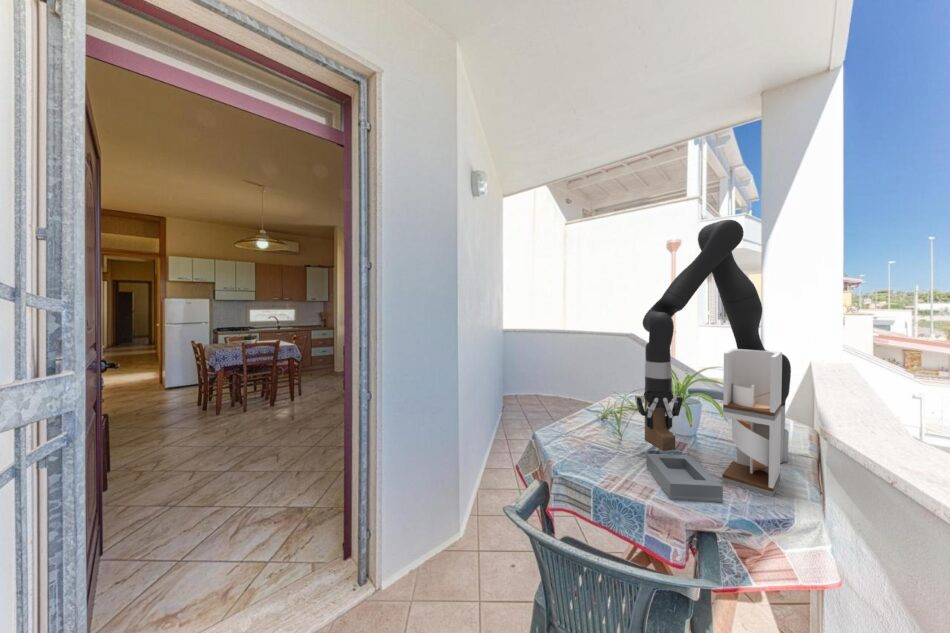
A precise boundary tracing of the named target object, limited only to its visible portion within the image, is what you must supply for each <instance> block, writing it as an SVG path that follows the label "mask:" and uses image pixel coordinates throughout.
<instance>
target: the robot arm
mask: <svg viewBox="0 0 950 633" xmlns="http://www.w3.org/2000/svg"><path fill="white" fill-rule="evenodd" d="M744 232H745V231H744V227H743V226H742V224H741V223H740V222H738V221H736V220H733V219H723V220H718V221H716V222H713V223H709V224H706V225H705V226H703V227H702V228H701V229H700V231H699V232H698V236H697V243H698V246H699V248H700V252H699V254H698V255H697V256H696V258H694V260H692V262H690V264H688V265H687V267H686V268H684V269H683V270H682V271H681V272H680V273H679V274H678V275H677V276H676V277H675V278H674V279H673V280H672V282H671V283H670V284H669V286H668V287H667V289H666V290H665V291H664V293H663V294H662V296H661V298H660V299H658V300H657V301H656V302H655V303H654V304H653V306H651V307H650V309H649V310H648V311H647V312H646V313H645V315H644V317H643V319H642V326H643V329H644V331H647V333H649V334H648V335H649V336H648V343H646V345H645V350H644V351H645V363H644V393H643V394H641V395H635V396H634V400H635V404H636V406H637V411H638V413H639V414H640V415H641V416H642V417H643V416H644V425H645V424H646V426H647V427H648V428H649V429H652V418H651V416H652V413H653V411H654V409H655V408H658V407H661V408H664V409H665V420H666V426H667V429H668V430H671V428H673V418H674V417H678V416H680V411H681V409H682V405H683V400H684V399H683V397H681V396H680V395H674V394H673V392H672V391H673V387H672V386H673V384H672V383H673V382H672V381H673V380H672V378H673V377H672V376H673V373H672V364H671V362H672V361H671V345H672V341H673V336H674V327H675V325H674V320H673V316H674V315H675V314H676V313H678V312H681V311H682V310H683V309H684V308H685V307H686V306H687V304H688V303H689V301H690V300H692V297H693V296H694V295H695V293H696V292H697V291H698V289H699V288H700V287H701V286H702V285H703V283H704V282H705V280H706V279H707V278H708V277H710V275H712V276H713V277H712V278H713V279H714V283H715V286H716V288H717V291H718V294H719V296H720V300H721V303H722V306H723V309H724V312H725V314H726V317H727V319H728V322H729V324H730V327H731V330H732V335H733V337H734V340H735V345H736V349H745V350H759V351H768V350H766V349H765V347H764V345H763V342H762V340H761V337H760V332H759V330H760V324H761V321H762V317H763V316H762V315H763V305H762V301H761V298H760V295H759V293H758V290H757V288H756V286H755V284H754V283H753V281H752V280H751V279H750V278H749V277H748V276H747V275H746V273H744V271H743V270H742V269H741V268H740V267H739V265H738V264H737V262H736V259H735V258H734V255H733V251H734V250H735V249H736V248H737V247H738V246H739V245H740V244H741V242H742V240H743V238H744ZM791 373H792V367H791V362H790V360H789V358H788V356H786V354H783V353H782V390H781V443H780V464H782V463H787V462H789V430H788V429H787V428H786V400H787V398H788V397H789V396H790V395H789V394H790V389H791V388H790V387H791V379H792V378H791V377H792V375H791ZM645 399H646V400H647V402H648V404H647V406H646V411H645V407H644V405H643V403H645ZM672 401H673V405H672V408H671V407H670V403H671V402H672ZM649 404H650V405H651V406H649ZM645 422H646V423H645Z"/></svg>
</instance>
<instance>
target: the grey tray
mask: <svg viewBox="0 0 950 633" xmlns="http://www.w3.org/2000/svg"><path fill="white" fill-rule="evenodd" d="M646 468H647V469H648V471H649V472H650V474H651V475H652V477H653V478H654V479H655V480H656V483H658V484H659V487H661V489H662V491H664V493H665V494H666V496H667V497H668V499H669V500H675V501H676V500H679V501H693V502H694V501H695V502H710V503H711V502H713V503H723V502H724V486H723V484H721V483H720V482H719V481H718V480H717V479H716V478H715V477H714V476H713V475H711V473H709V471H707V469H705V468H704V467H703V466H702V465H701V464H700V463H699V462H698V461H697V460H695V458H693V456H691V455H688V454H685V455H684V454H664V453H646Z"/></svg>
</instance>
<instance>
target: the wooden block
mask: <svg viewBox="0 0 950 633" xmlns="http://www.w3.org/2000/svg"><path fill="white" fill-rule="evenodd" d="M647 404H648V402H647V400H646V399H644V411H646V406H647ZM649 406H651V405H650V404H649ZM665 416H666V413H665V409H664V408H661V407H658V408H655V409H654V411H653V413H652V416H651V418H652V429H649V428H648V427H647V426H646V424H645V423H646V422H645V421H644V441H645V442H647V443H648V444H650V445H652V446H654V447H655V448H657V449H658V450H660V451H663V452H667V451H675V450H676V435H675V434H673V433H672V432H671V431H670V429H667V426H666V420H665Z"/></svg>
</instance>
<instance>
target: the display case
mask: <svg viewBox="0 0 950 633" xmlns="http://www.w3.org/2000/svg"><path fill="white" fill-rule="evenodd" d="M782 354H783V352H782V351H772V350H767V351H759V350H745V349H737V348H733V349H730V350H728V351H726V352H723V394H722V395H723V397H722V398H723V399H722V400H723V401H722V402H723V404H722V406H723V410H722V417H723V418H727V419H731V439H732V442H733V444H734V445H735V447H736V460H731V462H730V463H729V465H728V466H727V468H726V469H725V470H724V471H723V473H721V474H722V476H721V478H722V479H721V481H722V482H723V483H725V484H730V485H733V486H736V485H737V486H736V487H739V486H741V487H740V488H742V487H744V488H743V489H746V488H747V489H746V490H749V489H750V491H753V492H756V493H759V494H763V495H767V496H770V497H772V498H773V497H774V495H775V492H776V491H777V488H778V486H779V483H780V481H781V463H780V443H781V390H782Z"/></svg>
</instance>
